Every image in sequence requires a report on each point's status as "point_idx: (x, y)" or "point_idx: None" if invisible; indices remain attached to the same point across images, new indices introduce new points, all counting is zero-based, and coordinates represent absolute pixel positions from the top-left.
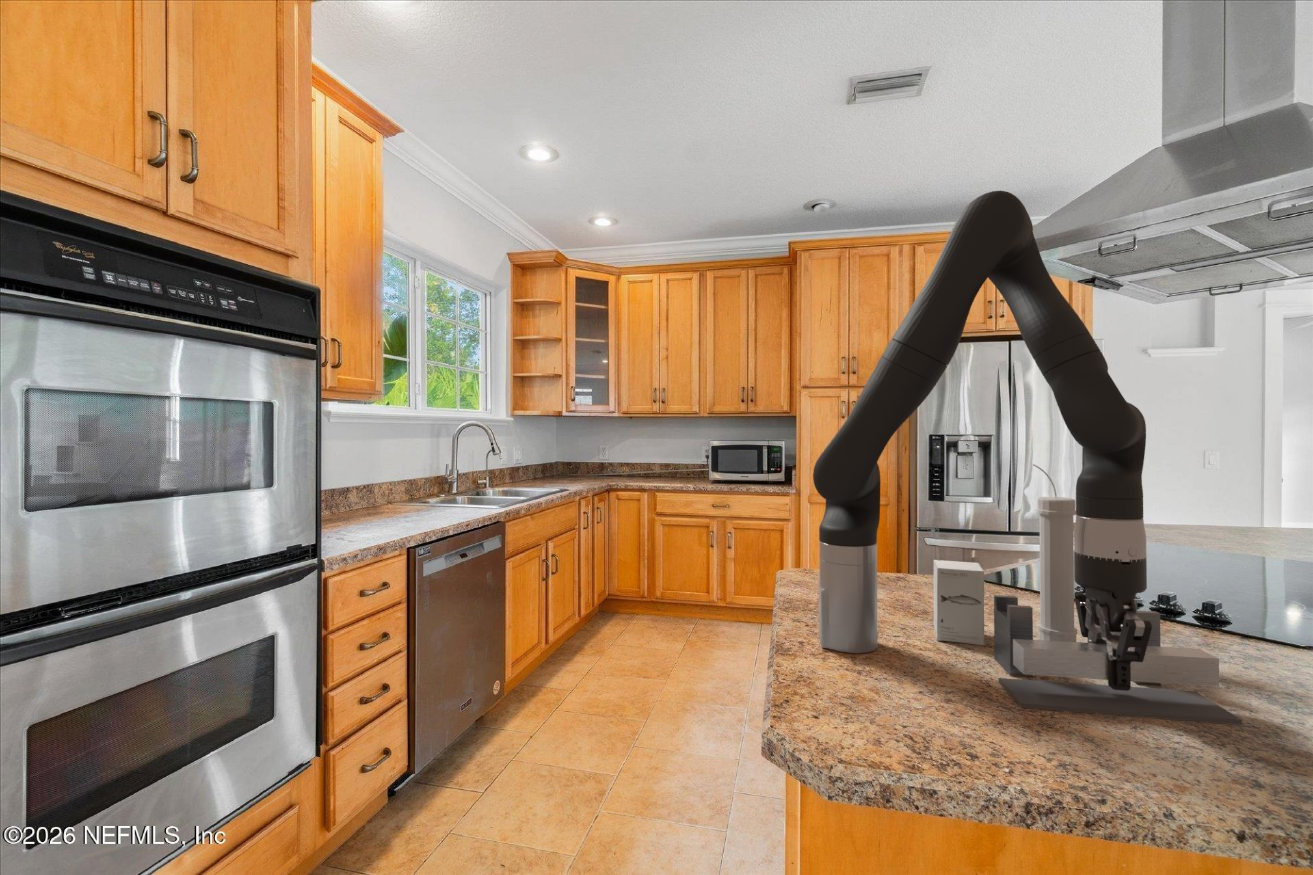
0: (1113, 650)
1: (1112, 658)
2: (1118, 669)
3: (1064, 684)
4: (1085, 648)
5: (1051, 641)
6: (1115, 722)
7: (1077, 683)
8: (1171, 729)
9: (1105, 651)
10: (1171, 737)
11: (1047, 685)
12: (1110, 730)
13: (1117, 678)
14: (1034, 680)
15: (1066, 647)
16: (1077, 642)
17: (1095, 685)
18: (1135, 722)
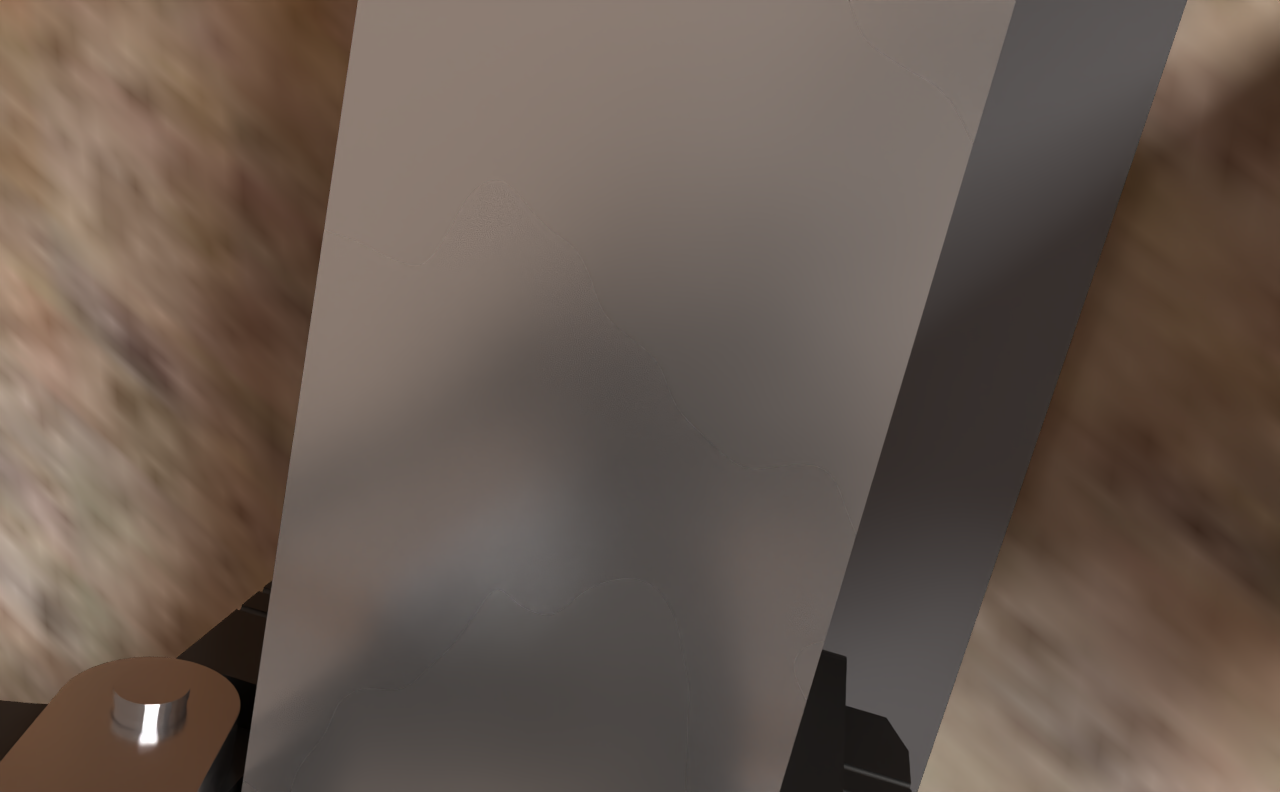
0: (14, 760)
1: (109, 667)
2: (189, 655)
3: (989, 342)
4: (449, 525)
5: (928, 99)
6: (222, 265)
7: (1000, 518)
8: (130, 630)
9: (300, 758)
10: (2, 512)
11: (992, 107)
12: (71, 93)
13: (268, 594)
14: (1166, 33)
15: (527, 180)
16: (799, 639)
17: (922, 671)
18: (231, 446)
